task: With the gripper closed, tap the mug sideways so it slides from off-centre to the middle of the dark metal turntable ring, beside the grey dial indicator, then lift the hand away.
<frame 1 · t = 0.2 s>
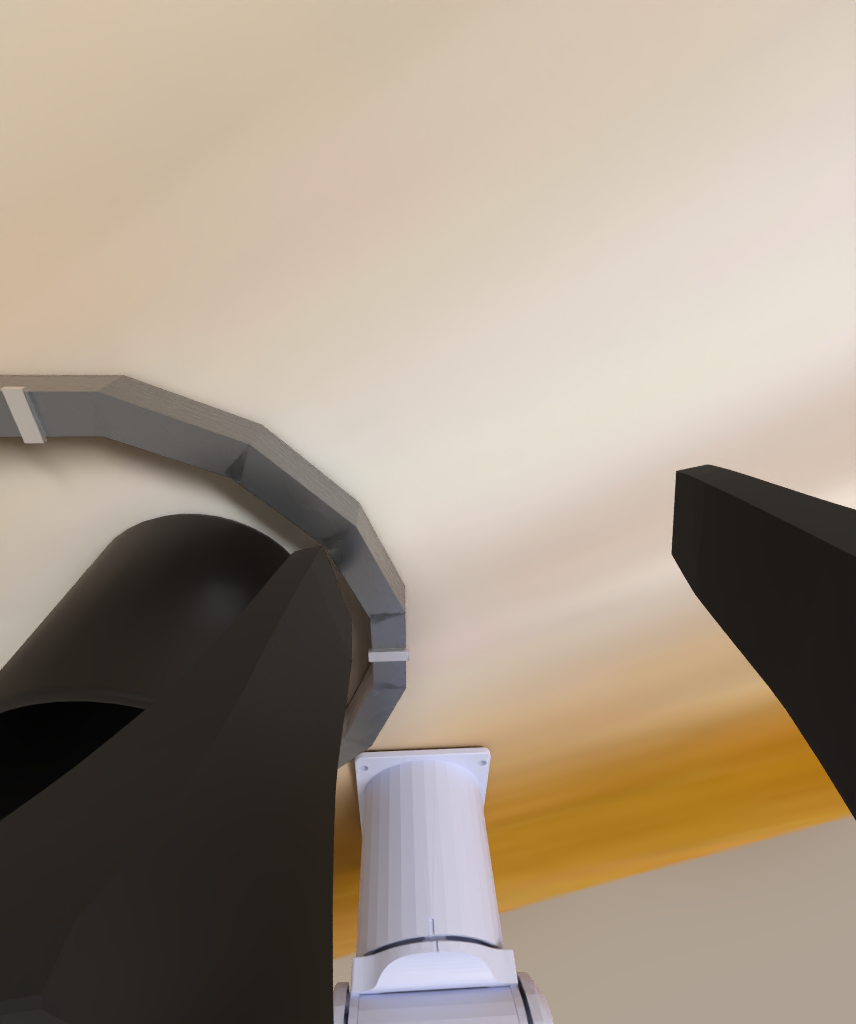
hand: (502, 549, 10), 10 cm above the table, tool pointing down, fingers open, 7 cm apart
turntable ring: (138, 647, 22), point 1 cm above the table, hinge at 0.0°
mug: (238, 586, 23), resting in turntable ring
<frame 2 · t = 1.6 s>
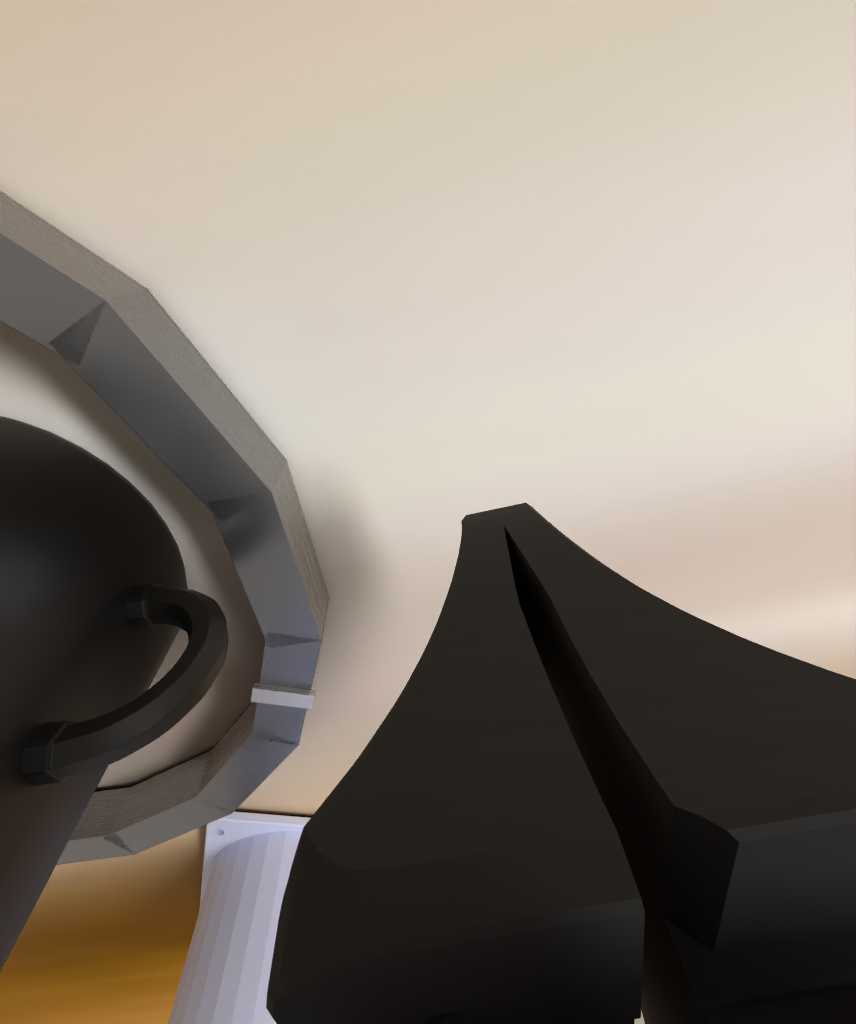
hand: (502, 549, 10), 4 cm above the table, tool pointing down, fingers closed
mug: (70, 551, 15), resting in turntable ring
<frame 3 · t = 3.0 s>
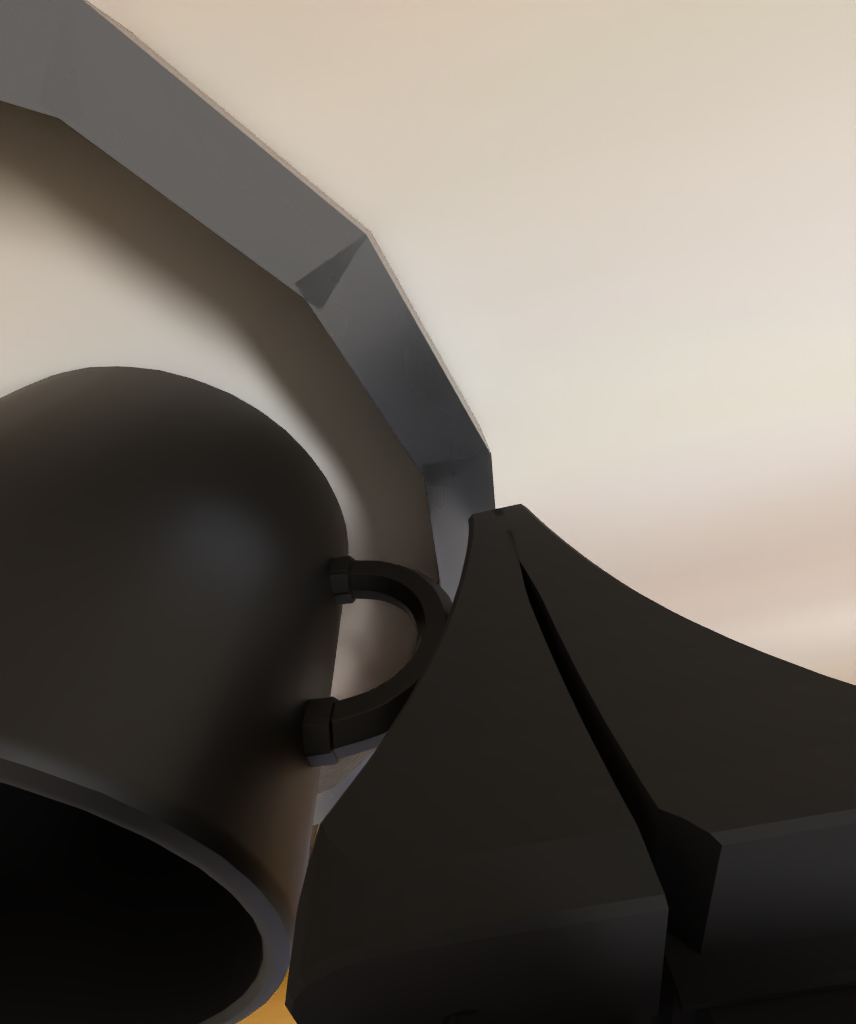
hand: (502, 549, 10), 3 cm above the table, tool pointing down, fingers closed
turntable ring: (31, 594, 13), point 1 cm above the table, hinge at 0.0°
mug: (224, 526, 14), resting in turntable ring, touching gripper
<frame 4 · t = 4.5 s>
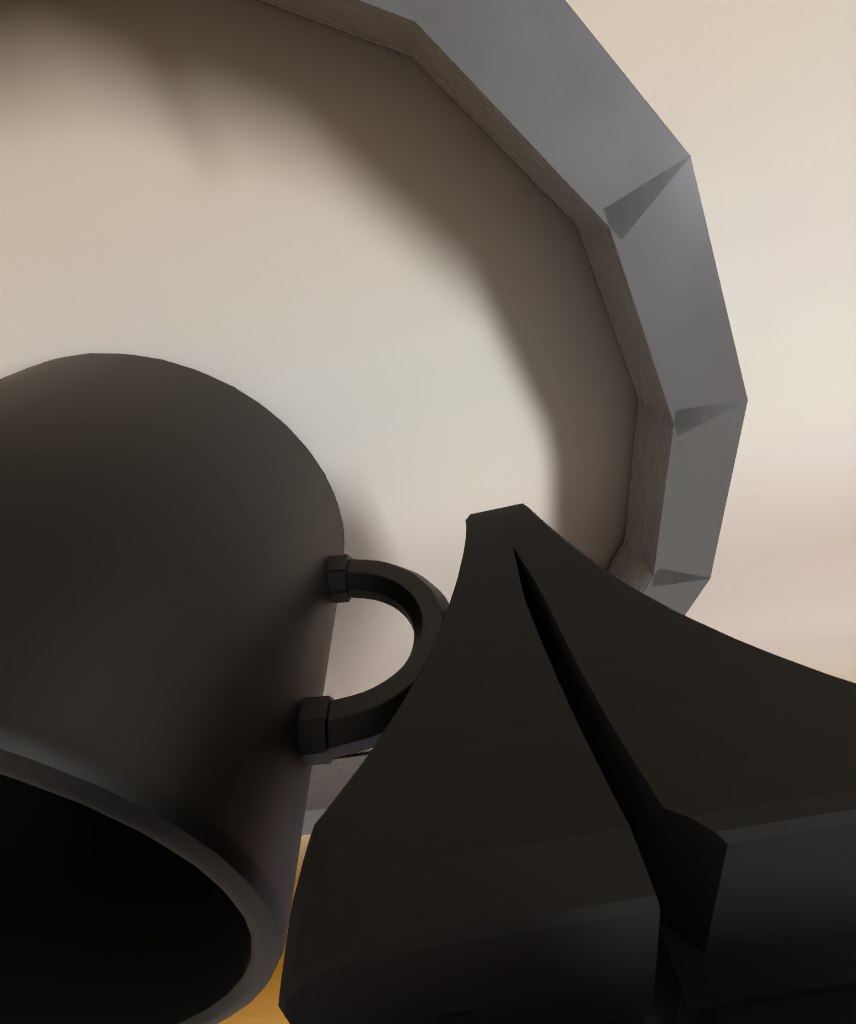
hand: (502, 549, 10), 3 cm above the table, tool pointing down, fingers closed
turntable ring: (230, 550, 12), point 1 cm above the table, hinge at 0.0°
mug: (219, 519, 14), resting in turntable ring, touching gripper
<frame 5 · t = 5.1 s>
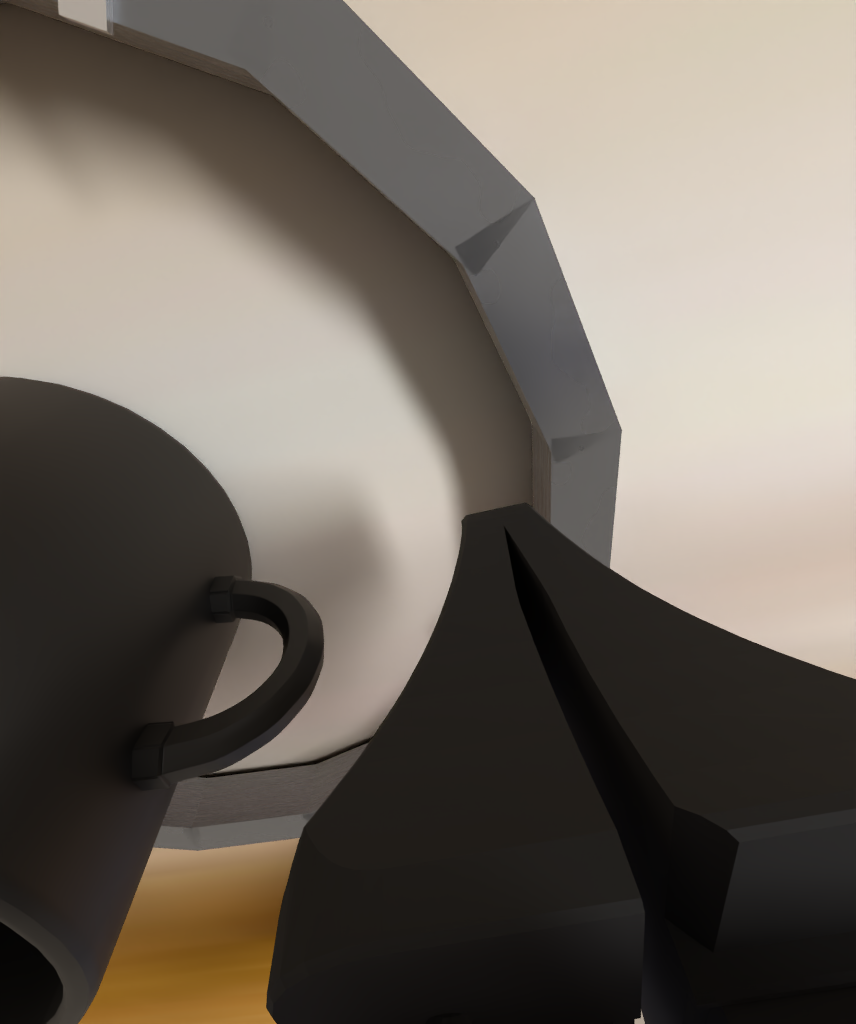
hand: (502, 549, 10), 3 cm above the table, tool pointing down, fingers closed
turntable ring: (131, 569, 13), point 1 cm above the table, hinge at 0.0°
mug: (129, 536, 14), resting in turntable ring
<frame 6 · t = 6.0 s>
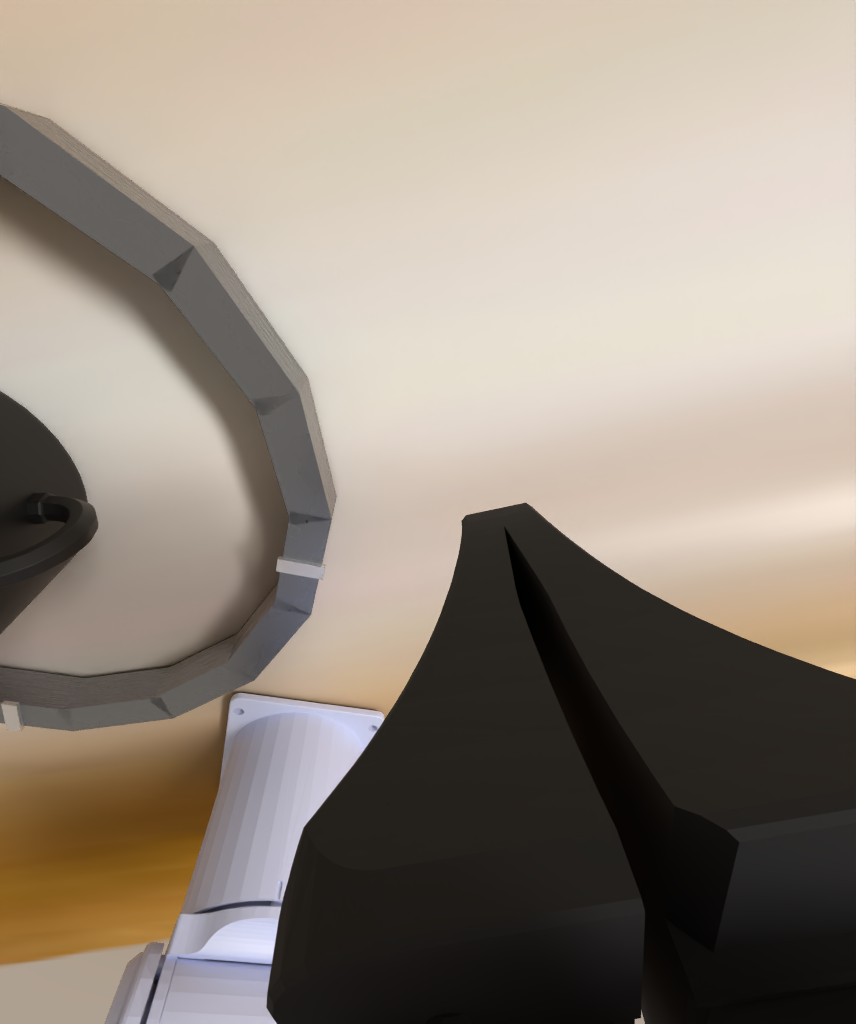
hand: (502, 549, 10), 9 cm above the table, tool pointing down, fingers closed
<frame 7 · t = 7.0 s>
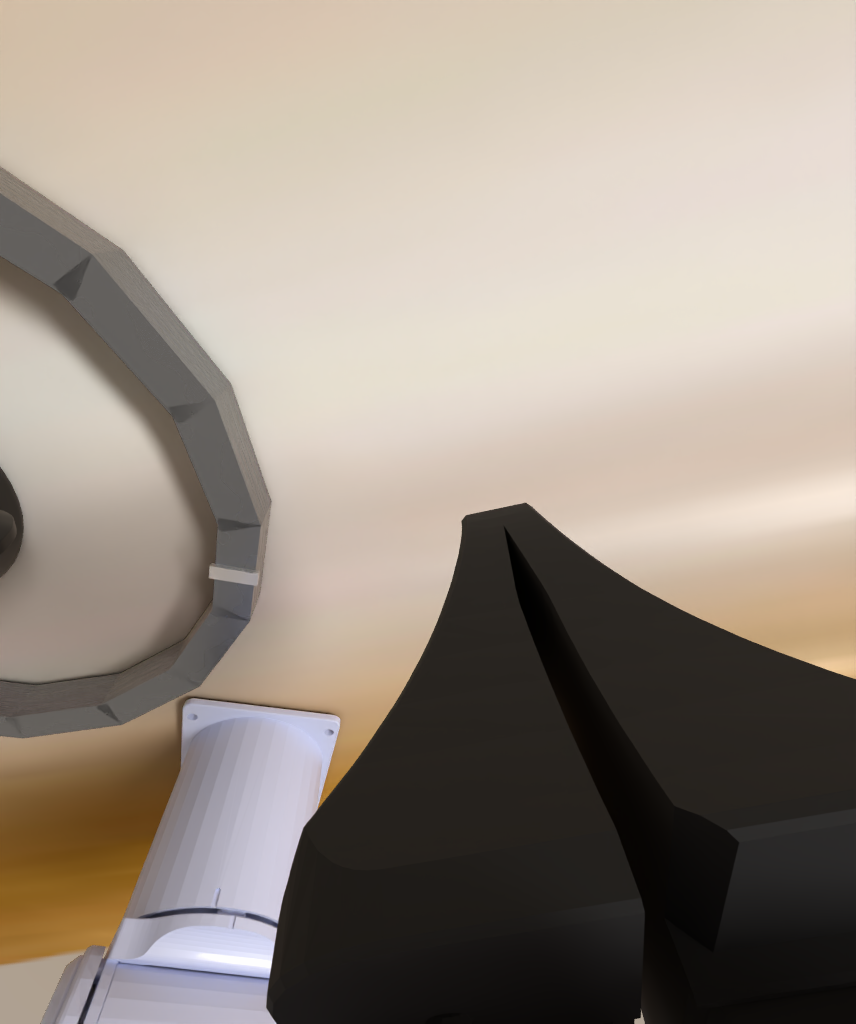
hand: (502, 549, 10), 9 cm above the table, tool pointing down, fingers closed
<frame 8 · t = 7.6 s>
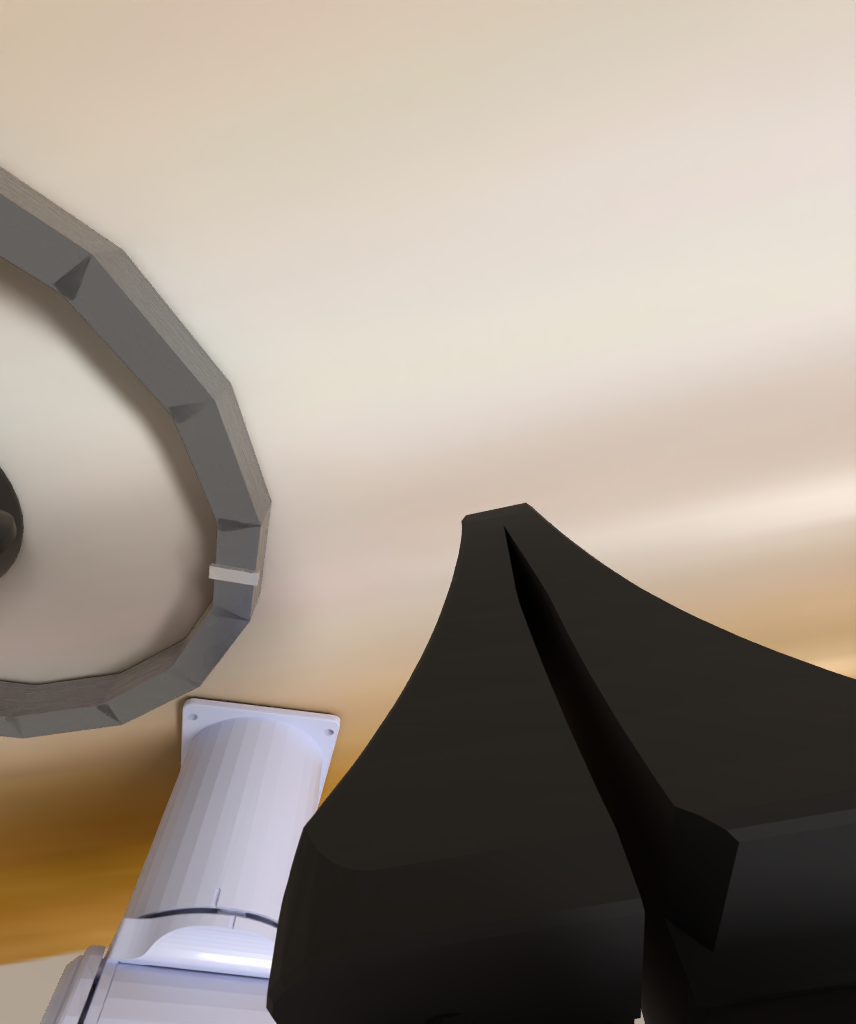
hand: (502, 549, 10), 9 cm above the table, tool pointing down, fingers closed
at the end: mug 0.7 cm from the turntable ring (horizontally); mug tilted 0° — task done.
